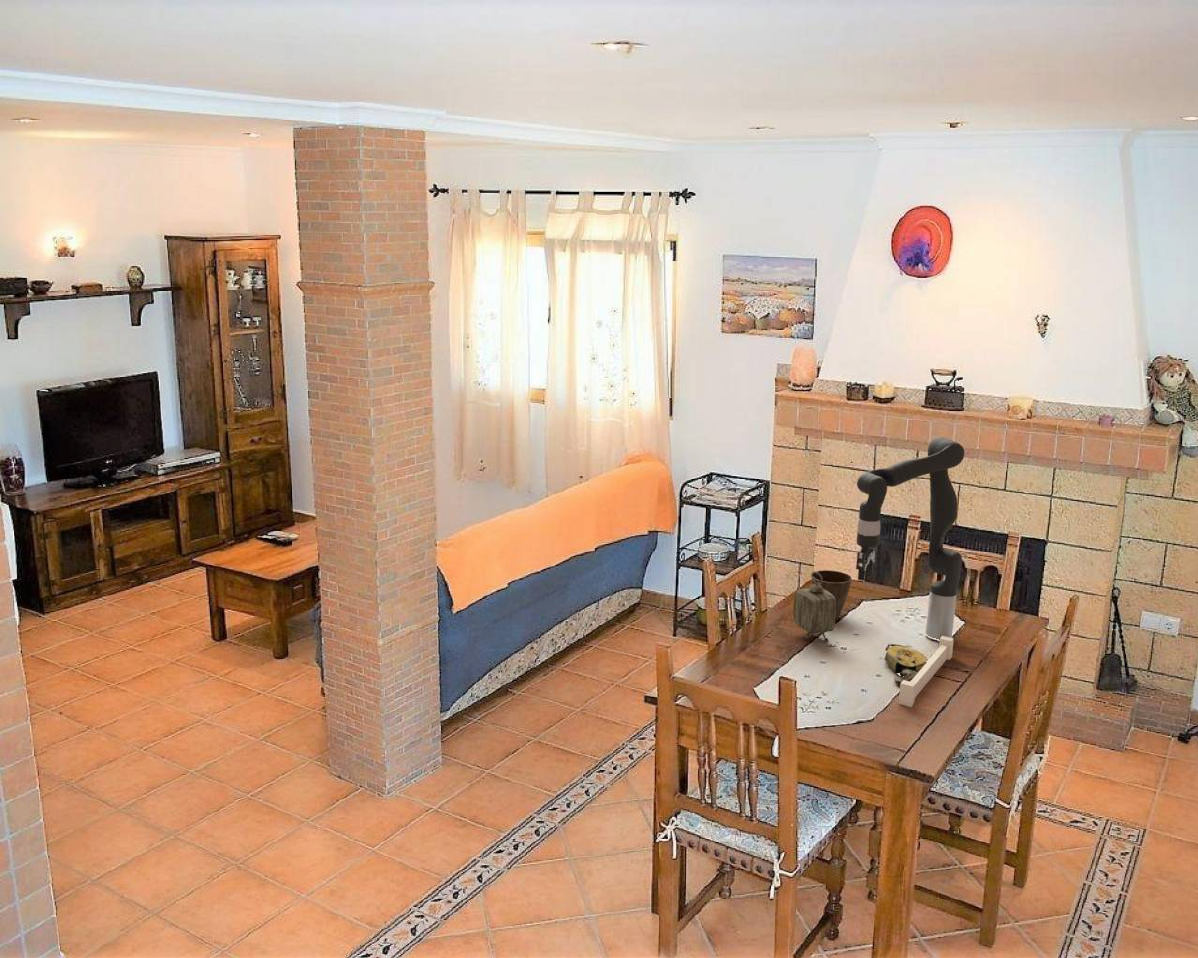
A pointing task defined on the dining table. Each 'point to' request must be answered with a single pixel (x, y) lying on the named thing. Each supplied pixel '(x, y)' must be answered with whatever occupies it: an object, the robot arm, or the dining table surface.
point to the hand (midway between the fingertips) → (865, 576)
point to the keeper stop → (925, 672)
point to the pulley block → (904, 661)
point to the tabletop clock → (815, 609)
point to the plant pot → (835, 586)
